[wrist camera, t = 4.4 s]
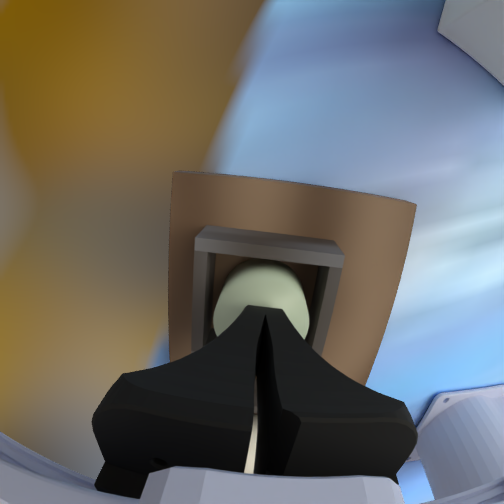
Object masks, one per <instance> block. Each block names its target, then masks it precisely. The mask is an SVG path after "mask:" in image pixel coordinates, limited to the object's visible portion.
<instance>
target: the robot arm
mask: <svg viewBox="0 0 504 504" xmlns="http://www.w3.org/2000/svg"><path fill="white" fill-rule="evenodd" d="M255 379H256V384H257V421H258V424H257V441H256V452H255V462H254V471H253V474H248V473H244V471H245V466H246V461H247V455H248V450H249V445H250V439H251V434H252V427H253V416H254V383H255ZM92 427H93V432H94V434H95V437H96V440H97V442H98V445H99V447H100V450H101V452H102V455H103V457H104V460H105V463H104V465H103V467H102V469H101V471H100V473H99V475H98V477H97V479H96V480H95V479H92V478H90V477H87V476H85V475H82V474H80V473H78V472H75V471H73V470H71V469H69V468H66V467H64V466H62V465H60V464H58V463H56V462H54V461H51V460H49V459H47V458H45V457H43V456H41V455H40V454H38V453H36V452H34V451H32V450H30V449H28V448H27V447H25V446H23V445H21V444H20V443H18V442H16V441H15V440H13V439H11V438H9V437H8V436H6V435H5V434H3V433H1V432H0V504H405V503H404V499H403V496H402V492H401V489H400V486H399V483H398V479H397V476H396V473H397V472H398V471H399V469H400V468H401V467H402V465H403V464H404V463H405V462H409V461H415V460H421V462H422V465H423V468H424V470H425V473H426V476H427V479H428V481H429V484H430V487H431V490H432V493H433V496H434V498H435V500H433V501H430V502H425V503H421V504H504V384H503V385H497V386H491V387H485V388H478V389H471V390H463V391H454V392H445V393H439V394H438V395H436V396H435V398H434V399H433V401H432V403H431V405H430V406H429V408H428V410H427V412H426V413H425V415H424V417H423V419H422V420H421V422H420V424H419V425H418V427H417V428H416V427H415V425H414V422H413V420H412V417H411V415H410V413H409V411H408V409H407V407H406V405H405V404H404V402H402V401H399V400H397V399H394V398H391V397H389V396H386V395H383V394H381V393H378V392H376V391H374V390H372V389H369V388H367V387H365V386H363V385H361V384H360V383H358V382H356V381H354V380H352V379H351V378H349V377H348V376H346V375H345V374H343V373H342V372H340V371H339V370H337V369H336V368H334V367H333V366H332V365H330V364H329V363H328V362H327V361H326V360H324V359H323V358H322V357H321V356H320V355H319V354H318V353H316V352H315V351H314V350H313V349H312V347H311V346H310V345H309V344H308V343H307V342H306V341H305V340H304V339H303V337H302V336H301V335H300V334H299V332H298V331H297V330H296V328H295V327H294V326H293V324H292V323H291V321H290V320H289V318H288V317H287V315H286V313H285V312H284V311H283V309H279V308H271V307H262V306H254V305H247V306H246V307H245V308H244V310H243V311H242V312H241V314H240V315H239V316H238V317H237V318H236V320H235V321H234V322H233V323H232V324H231V325H230V326H229V327H228V328H227V329H226V330H225V331H223V332H222V333H221V334H220V335H219V336H217V337H216V338H215V339H214V340H212V341H211V342H210V343H208V344H207V345H205V346H204V347H202V348H201V349H199V350H197V351H195V352H193V353H191V354H189V355H187V356H185V357H183V358H181V359H178V360H176V361H173V362H170V363H167V364H164V365H161V366H158V367H154V368H150V369H145V370H140V371H135V372H130V373H123V374H122V375H121V376H120V377H119V379H118V380H117V381H116V382H115V383H114V384H113V385H112V387H111V388H110V390H109V391H108V392H107V394H106V395H105V397H104V398H103V400H102V401H101V403H100V405H99V406H98V408H97V409H96V411H95V412H94V414H93V418H92Z"/></svg>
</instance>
